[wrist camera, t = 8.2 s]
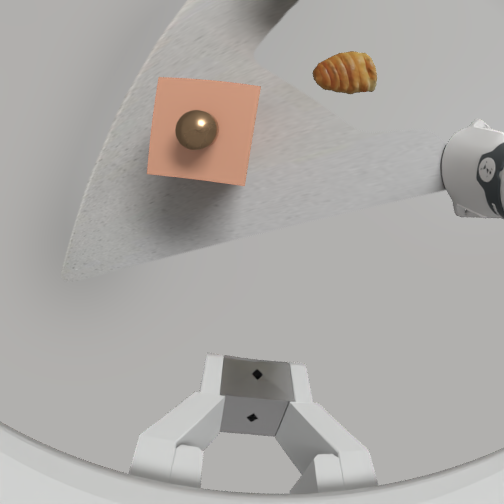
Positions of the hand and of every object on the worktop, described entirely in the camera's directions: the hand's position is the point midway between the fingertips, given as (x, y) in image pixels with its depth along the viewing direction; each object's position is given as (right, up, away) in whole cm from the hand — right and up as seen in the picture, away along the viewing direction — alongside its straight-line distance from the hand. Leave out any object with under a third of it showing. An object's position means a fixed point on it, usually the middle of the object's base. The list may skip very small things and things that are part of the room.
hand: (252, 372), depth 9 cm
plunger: (-5, +19, +28) cm, 34 cm away
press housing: (-5, +22, +33) cm, 40 cm away
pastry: (+14, +30, +30) cm, 45 cm away
